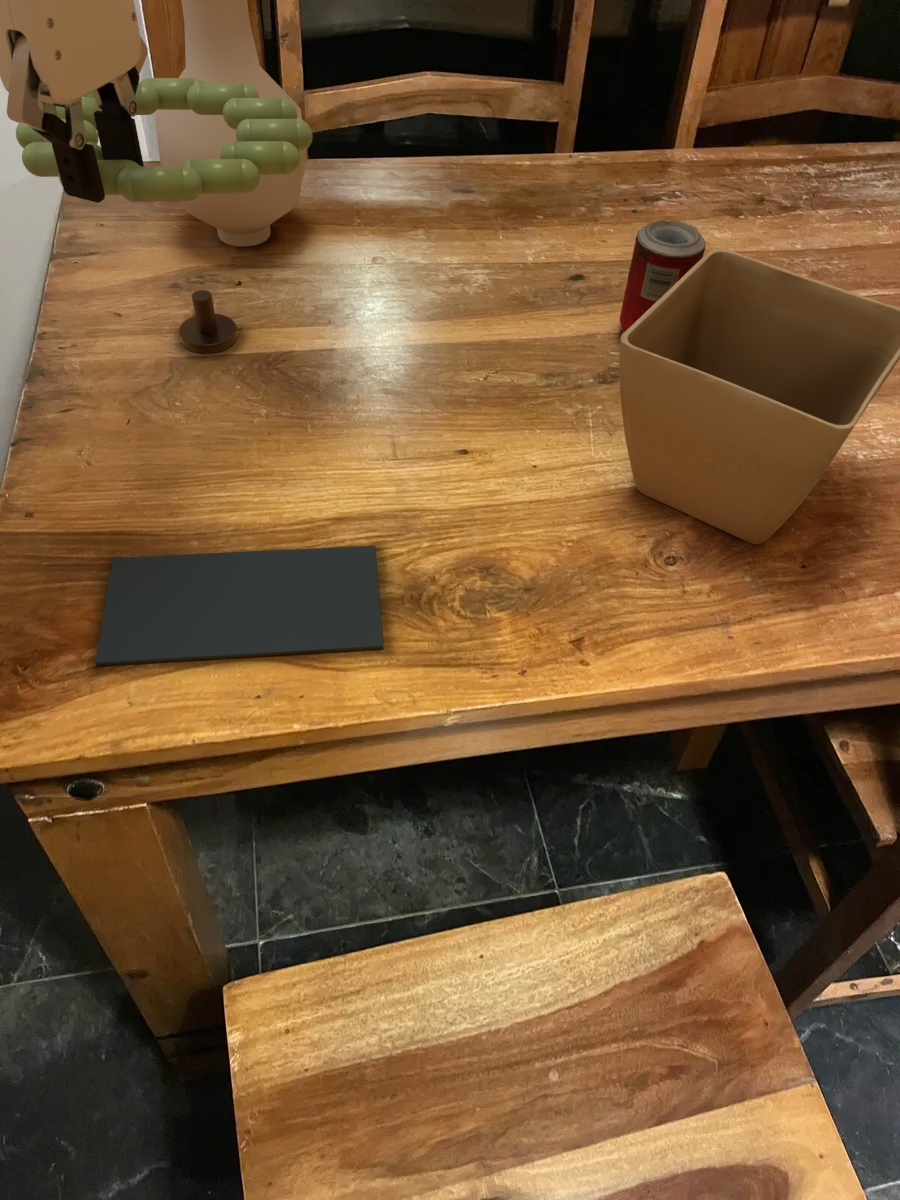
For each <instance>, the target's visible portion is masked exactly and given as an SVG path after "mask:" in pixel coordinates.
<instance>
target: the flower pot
mask: <svg viewBox="0 0 900 1200" xmlns="http://www.w3.org/2000/svg"><path fill="white" fill-rule="evenodd" d="M620 335H621V336H620V337H619V338H620V340H619V341H620V342H619V393H620V404H621V406H620V407H621V415H622V423H623V431H624V437H625V443H626V449H627V454H628V458H629V459H628V460H629V465H630V469H631V473H632V477H633V480H634V484H635V485H636V486H635V487H636V489H637V490H638V492H640V494H642V495H645V496H646V497H649V498H651V499H653V500H655V501H657V502H660V503H662V504H664V505H666V506H668V507H671V508H673V509H675V510H677V511H679V512H681V513H683V514H686V515H689V516H691V517H692V518H694V519H697V520H699V521H700V522H704V523H706V524H707V525H710V526H712V527H714V528H716V529H719V530H721V531H722V532H725V533H727V534H730V535H731V536H734V537H736V538H738V539H740V540H742V541H745V542H747V543H750V544H753V545H760V544H763V543H765V542H767V541H768V540H769V539H770V537H772V536H773V535H774V534H775V533H776V532H777V531H779V529H780V528H781V527H782V526H783V525H784V524H785V523H786V522H787V520H789V518H791V516H792V515H793V514H794V513H795V511H796V510H797V509H798V508H799V507H800V505H801V504H802V503H803V502H804V501H805V499H806V498H807V497H808V496H809V494H810V493H811V491H812V490H813V488H814V487H815V486H816V485H817V483H818V482H819V481H820V479H821V478H822V476H823V475H824V473H825V472H826V470H827V469H828V468H829V466H830V465H831V463H832V462H833V460H834V458H835V457H836V456H837V454H838V452H839V451H840V450H841V448H842V446H843V445H844V444H845V442H846V440H847V439H848V437H849V436H850V434H851V433H852V431H853V430H854V428H855V426H856V424H857V423H858V422H859V420H860V418H861V417H862V416H863V414H864V413H865V411H866V410H867V408H868V406H869V405H870V404H871V402H872V401H873V399H874V397H875V396H876V395H877V394H878V392H879V390H880V389H881V388H882V386H883V385H884V383H886V380H887V379H888V377H889V376H890V374H891V373H892V371H893V370H894V368H895V367H896V365H897V364H898V363H899V361H900V308H899V307H897V306H894V305H891V304H888V303H885V302H882V301H879V300H876V299H873V298H870V297H867V296H864V295H861V294H858V293H855V292H852V291H849V290H847V289H843V288H840V287H838V286H835V285H833V284H829V283H826V282H823V281H819V280H817V279H815V278H812V277H809V276H806V275H802V274H800V273H796V272H794V271H792V270H788V269H785V268H782V267H779V266H777V265H774V264H771V263H768V262H765V261H762V260H759V259H757V258H755V257H754V258H753V257H751V256H748V255H744V254H741V253H740V252H739V253H738V252H736V251H733V250H730V249H727V248H722V247H716V248H715V247H714V248H713V249H710V250H709V251H708V252H707V253H705V255H703V258H702V259H701V260H700V261H699V262H698V263H696V264H695V265H694V266H693V267H692V268H691V269H690V270H689V271H688V272H687V273H686V274H685V275H684V276H683V277H682V278H681V279H680V280H679V281H678V282H677V283H676V284H675V285H674V286H673V287H672V288H671V289H670V290H668V291H667V292H666V293H665V294H664V295H663V296H662V297H661V298H660V299H659V300H658V301H657V302H656V303H655V304H654V305H653V306H652V307H651V308H650V309H648V310H647V311H646V312H645V313H644V314H643V315H642V316H641V317H640V318H639V319H638V320H637V321H636V322H635V323H634V324H633V325H632V326H631V327H630V328H629V329H627V330H626V331H625V332H624V333H623V332H622V334H620Z"/></svg>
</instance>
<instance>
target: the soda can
mask: <svg viewBox="0 0 900 1200" xmlns="http://www.w3.org/2000/svg"><path fill="white" fill-rule="evenodd" d="M706 245H707V243H706V240H705V238H704V236H703V234H701V233H700V232H699V231H698V229H697V228H696V227H694V226H693V225H692V224H688V223H686V222H684V221H679V220H665V219H660V220H655V221H652V222H650V223H647V224H645V225H643V226H642V227H641V228H640V229H639V230H638V231H637V233H636V236H635V240H634V246H633V251H632V256H631V261H630V266H629V270H628V275H627V281H626V285H625V290H624V296H623V298H622V299H623V300H622V305H621V309H620V315H619V323H620V327H621V329H622V334H623V333H624V332H625V331H626V330H627V329H629V328H630V327H631V326H632V325H633V324H634V323H635V322H636V321H637V320H638V319H639V318H640V317H641V316H642V315H643V314H644V313H645V312H646V311H647V310H648V309H650V308H651V307H652V306H653V305H654V304H655V303H656V302H657V301H658V300H659V299H660V298H661V297H662V296H663V295H664V294H665V293H666V292H667V291H668V290H670V289H671V288H672V287H673V286H674V285H675V284H676V283H677V282H678V281H679V280H680V279H681V278H682V277H683V276H684V275H685V274H686V273H687V272H688V271H689V270H690V269H691V268H692V267H693V266H694V265H695V264H696V263H698V262H699V261H700V260H701V259H702V258H703V257H704V256H705V255H704V254H705V250H706Z"/></svg>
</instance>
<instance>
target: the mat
mask: <svg viewBox="0 0 900 1200" xmlns="http://www.w3.org/2000/svg"><path fill="white" fill-rule="evenodd" d="M111 559H112V560H111V566H110V572H109V578H108V582H107V589H106V594H105V602H104V606H103V613H102V619H101V623H100V629H99V635H98V641H97V646H96V652H95V659H94V665H95V666H96V667H97V666H113V665H128V664H129V665H130V664H133V665H134V664H146V663H147V664H149V663H164V662H181V661H183V662H184V661H198V660H199V661H200V660H214V659H216V660H217V659H231V658H249V657H267V656H281V655H282V656H283V655H284V656H285V655H299V654H300V655H301V654H316V653H317V654H318V653H333V652H335V653H336V652H351V651H368V650H383V649H384V638H383V637H384V636H383V626H382V613H381V612H382V611H381V599H380V586H379V585H380V584H379V573H378V562H377V561H378V560H377V547H376V545H356V546H355V545H354V546H338V547H337V546H336V547H315V548H314V547H313V548H292V549H274V550H273V549H272V550H253V551H230V552H209V553H189V554H187V553H186V554H169V555H168V554H167V555H165V554H164V555H147V556H144V555H143V556H128V557H127V556H126V557H112V558H111Z"/></svg>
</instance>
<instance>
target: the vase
mask: <svg viewBox="0 0 900 1200" xmlns="http://www.w3.org/2000/svg"><path fill="white" fill-rule="evenodd" d="M180 1H181V8H182V15H183V22H184V50H185V51H184V53H185V67H184V69H183V71H182V72H181V74H180V75H179V77H178V78H197V79H200V80H202V81H204V82H205V83H242V84H249V85H251V86H253V87H254V88H255V89H256V90H257V91H258V93H259V96H260V98H285V99H288V100H290V101H291V102H292V103H293V104H294V106H295V107H296V110H297V119H301V120H303V118H302V117H303V116H302V109H301V108H300V106H299V105H298V104H297V103H296V102H295V100H294V99H293V98H292V97H291V96H290V95H289V94H288V93H287V92H286V91H285V90H284V89H283V88H282V87H281V86H280V85H279V84H278V83H277V82H276V81H275V80H274V79H273V78H272V77H271V76H270V75H269V73H267V72H266V70H265V69H264V68H262V66H260V60H259V56H258V52H257V46H256V43H255V39H254V35H253V29H252V26H251V25H252V24H251V20H250V14H249V4H248V0H180ZM155 113H156V114H155V118H154V121H155V129H156V138H157V145H158V154H159V163H160V166H179V165H180V164H181V163H182V162H183V161H185V160H189V159H220V152H221V149H222V148H223V146H224V145H225V144H227V143H229V142H233V141H237V139H236V130H235V129H233V128H231V127H230V126H228V125H227V123H226V122H225V120H224V118H223V115H199V114H197V113H195V112H194V111H192V110H156V112H155ZM298 152H299V156H300V163H299V166H298V168H297V169H296V171H295V172H293V173H292V174H289V175H260V181H259V185H258V187H257V188H256V189H255V190H254V191H252V192H250V193H243V194H200V195H199V196H198V197H197V198H196V199H194V200H192V201H178V202H179V204H180V205H181V207H182V208H183V209H184V211H185V212H186V213H187V214H189V215H191V216H193V217H194V218H195V219H198V220H200V221H201V222H203V223H206V224H208V225H210V226H211V227H214V228H216V231H217V232H216V233H217V237H218V238H219V240H220V241H221V242H222V243H225V244H226V245H230V246H233V247H242V248H243V247H253V246H257V245H260V244H263V243H264V242H266V241H267V240H268V239H269V238H270V236H271V225H272V224H274V222H276V221H278V220H279V219H280V218H281V217H283V216H285V215H286V214H288V213H289V212H290V211H292V210H293V208H294V207H295V206H296V205H297V203H298V202H299V199H300V195H301V190H302V185H303V180H304V177H305V176H304V175H305V171H306V167H307V149H306V150H304V151H298Z"/></svg>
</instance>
